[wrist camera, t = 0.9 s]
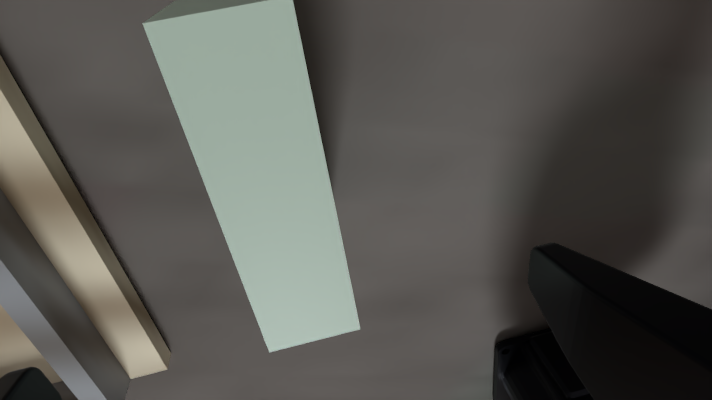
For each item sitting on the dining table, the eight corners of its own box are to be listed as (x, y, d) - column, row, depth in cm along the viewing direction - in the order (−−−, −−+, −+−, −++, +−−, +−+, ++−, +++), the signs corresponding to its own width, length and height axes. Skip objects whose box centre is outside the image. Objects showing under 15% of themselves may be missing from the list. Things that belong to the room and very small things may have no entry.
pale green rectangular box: (330, 214, 20) (360, 329, 14) (266, 229, 20) (269, 351, 14) (278, -26, 15) (292, -5, 9) (190, -10, 14) (142, 23, 9)
